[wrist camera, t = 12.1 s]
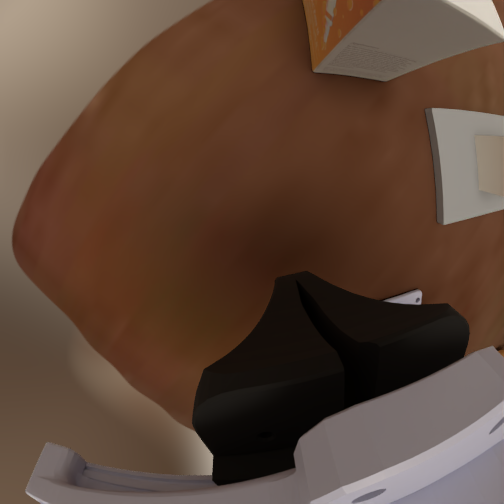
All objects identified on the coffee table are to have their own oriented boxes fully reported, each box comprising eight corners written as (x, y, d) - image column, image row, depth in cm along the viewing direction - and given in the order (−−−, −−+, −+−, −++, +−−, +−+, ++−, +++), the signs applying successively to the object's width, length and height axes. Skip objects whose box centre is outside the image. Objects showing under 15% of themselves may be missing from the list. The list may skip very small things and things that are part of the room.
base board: (518, 201, 19) (524, 203, 18) (437, 222, 20) (443, 224, 19) (512, 118, 16) (518, 119, 15) (424, 109, 17) (431, 107, 16)
